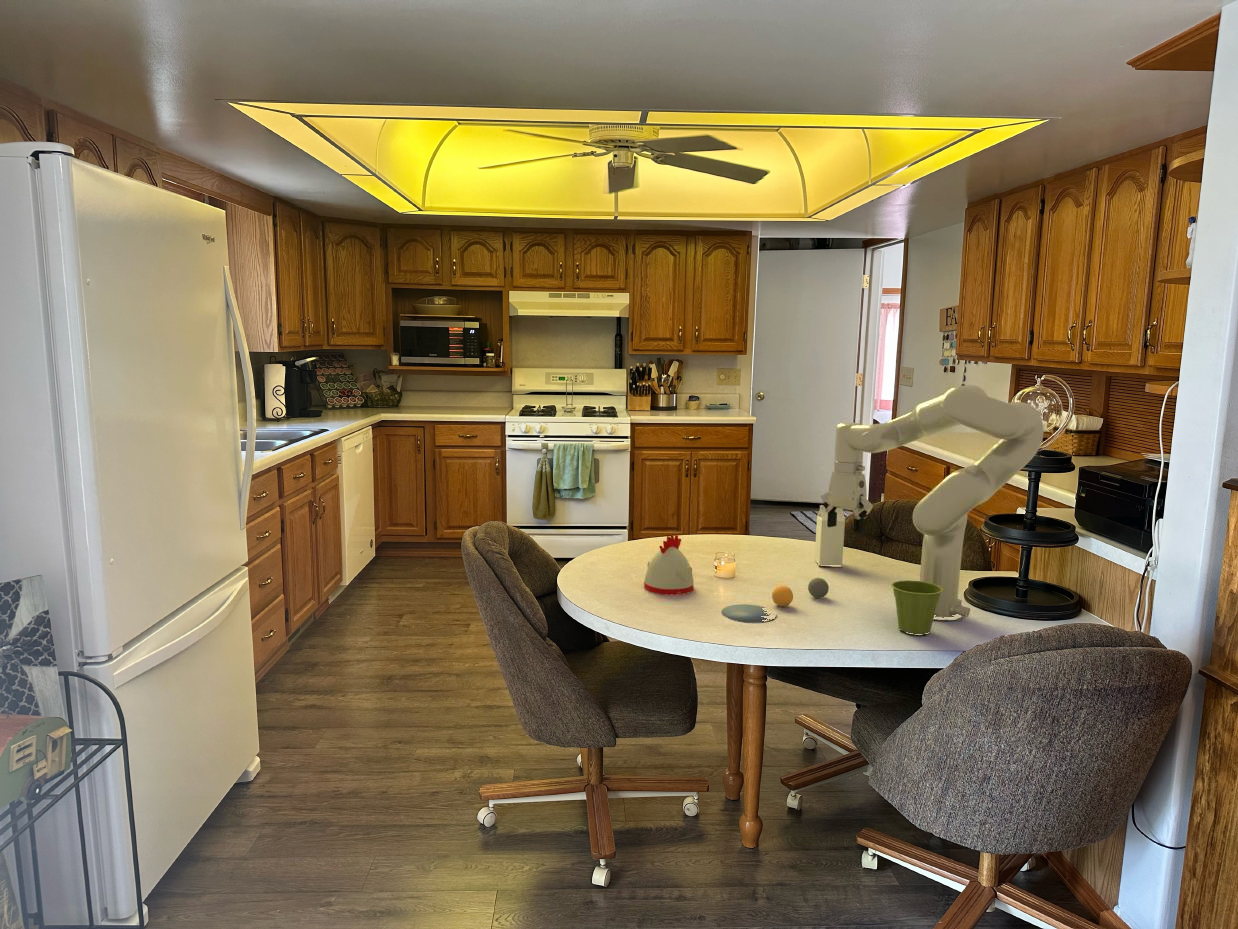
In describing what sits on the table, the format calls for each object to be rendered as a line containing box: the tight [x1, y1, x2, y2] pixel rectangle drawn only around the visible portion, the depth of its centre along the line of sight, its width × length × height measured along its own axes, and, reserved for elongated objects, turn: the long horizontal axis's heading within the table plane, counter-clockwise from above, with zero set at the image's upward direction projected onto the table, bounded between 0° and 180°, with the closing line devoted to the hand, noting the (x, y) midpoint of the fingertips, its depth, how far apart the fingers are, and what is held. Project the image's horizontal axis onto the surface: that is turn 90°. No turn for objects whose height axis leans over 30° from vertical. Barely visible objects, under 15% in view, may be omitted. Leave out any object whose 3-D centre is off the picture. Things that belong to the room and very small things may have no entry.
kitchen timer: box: [643, 534, 694, 596], centre depth 233 cm, size 14×14×15 cm
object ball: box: [771, 584, 794, 607], centre depth 219 cm, size 6×6×6 cm
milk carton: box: [814, 504, 846, 566], centre depth 262 cm, size 7×7×19 cm
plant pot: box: [890, 580, 943, 635], centre depth 202 cm, size 12×12×11 cm
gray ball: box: [807, 577, 830, 599], centre depth 228 cm, size 6×6×6 cm
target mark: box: [721, 603, 770, 623], centre depth 213 cm, size 14×14×1 cm
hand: (844, 529), depth 231 cm, fingers open, 8 cm apart
